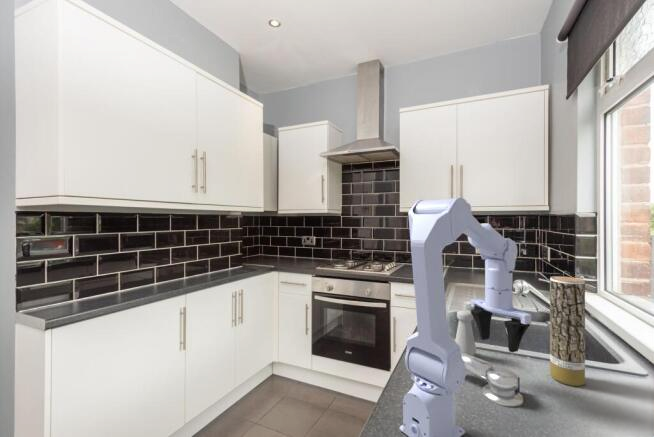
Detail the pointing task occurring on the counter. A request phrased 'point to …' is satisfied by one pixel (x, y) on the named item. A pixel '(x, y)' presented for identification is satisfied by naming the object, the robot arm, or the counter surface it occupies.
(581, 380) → the paper tube
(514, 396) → the duct stub
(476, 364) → the elbow
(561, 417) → the counter surface
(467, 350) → the salt shaker
